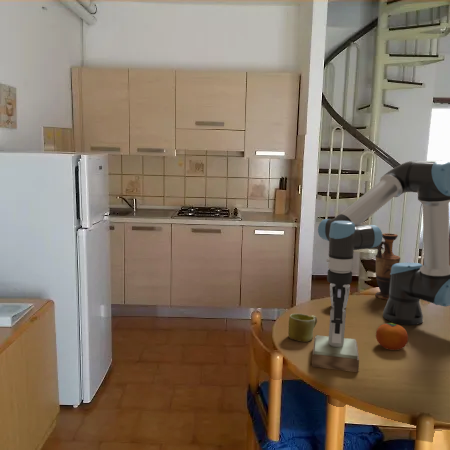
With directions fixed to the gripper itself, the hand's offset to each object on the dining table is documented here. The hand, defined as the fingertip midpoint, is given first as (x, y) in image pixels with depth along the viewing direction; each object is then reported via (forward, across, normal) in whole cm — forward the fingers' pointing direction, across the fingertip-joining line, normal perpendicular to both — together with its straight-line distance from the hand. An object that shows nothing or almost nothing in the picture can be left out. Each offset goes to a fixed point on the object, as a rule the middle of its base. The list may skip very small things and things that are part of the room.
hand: (336, 334), depth 146 cm
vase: (+9, -74, +23) cm, 78 cm away
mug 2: (+9, -52, +2) cm, 53 cm away
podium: (+9, 0, 0) cm, 9 cm away
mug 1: (+9, -16, -11) cm, 21 cm away
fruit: (+9, -15, +19) cm, 26 cm away
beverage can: (+4, 0, 0) cm, 4 cm away
